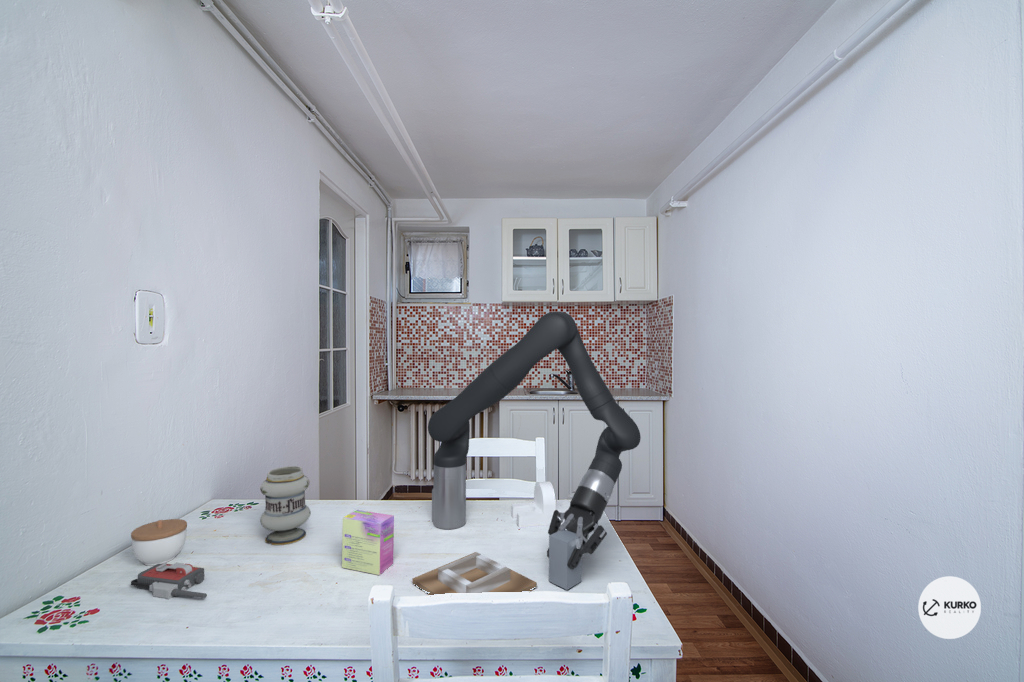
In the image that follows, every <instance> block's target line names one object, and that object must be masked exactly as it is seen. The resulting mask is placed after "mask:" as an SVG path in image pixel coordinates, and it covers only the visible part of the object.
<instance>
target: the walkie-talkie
mask: <svg viewBox="0 0 1024 682" xmlns="http://www.w3.org/2000/svg"><path fill="white" fill-rule="evenodd" d="M205 577H206V576H205V568H204V567H197V566H193V564H190V563H183V562H175V563H168V562H166V563H163V564H157V565H153V566H151V567H149V568H147V569H144V570H142V571H141V572H139V573H138V575H137V578H136V579H135V578H134V579H132V580H131V581H130V585H131V586H133V587H137V589H139V590H145V591H146V590H148V591H149V592H152V595H153V597H155V598H161V599H165V600H170V599H172V598H174V597H186V598H201V599H202V598H204V599H205V598H207V597H208V596H207V595H208V594H207V593H205V592H198V591H190V590H189V589H190V588H192V587H194V586H196V585H197V584H201V583H202V582H203V581H204V580H205Z"/></svg>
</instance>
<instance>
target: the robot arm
mask: <svg viewBox="0 0 1024 682" xmlns="http://www.w3.org/2000/svg"><path fill="white" fill-rule="evenodd" d="M555 350H557V351H558V352H559V353H560V354H561V356H562V357H563V358H564V360H565V362H566V364H567V366H568V368H569V370H570V373H571V376H572V378H573V381H574V383H575V384H574V385H575V386H576V389H577V391H578V394H579V396H580V397H581V399H582V401H583V403H584V405H585V406H586V408H587V410H588V411H589V413H590V415H591V417H592V418H593V419H594V420H597V421H600V422H604V423H605V425H606V427H605V428H604V429H603V430H602V432H601V433H600V436H599V437H598V442H597V446H596V447H595V449H596V450H595V454H594V455H595V456H594V457H593V458H592V460H591V462H590V465H589V466H588V469H587V470H586V472H585V474H584V475H583V476H582V479H581V480H580V483H579V484H578V486H577V488H576V490H575V492H574V494H573V496H572V498H571V500H570V507H569V509H568V510H567V511H566V512H565V513H561V512H559V511H558V510H555V511H554V513H553V516H552V520H551V523H550V525H549V526H548V531H547V534H548V535H551V534H554V533H556V532H558V531H560V530H561V531H565V530H568V531H570V532H573V533H576V537H578V541H577V543H576V549H575V548H574V550H573V552H572V554H571V556H570V559H569V561H568V563H567V566H568V567H569V568H570V569H572V570H574V568H576V567H577V566H578V564H579V561H580V559H581V560H582V558H583V555H585V554H589V555H593V554H594V553H595V551H596V550H597V549H598V548H599V546H600V544H601V543H602V541H603V540H604V539H605V537H606V536H607V534H608V532H607V530H606V528H604V527H603V525H599V521H600V520H601V518H602V516H603V514H604V512H605V509H606V508H607V505H608V504H609V501H610V499H611V497H612V494H613V492H614V487H615V485H616V483H617V480H619V479H618V478H619V476H620V474H621V471H622V470H623V464H622V460H621V459H620V456H621V454H622V453H623V452H625V451H630V450H634V449H636V448H637V447H638V446H639V445H640V443H641V438H642V437H641V432H640V428H639V426H638V425H637V423H636V422H635V421H634V419H633V418H632V417H631V416H630V415H629V413H627V412H626V411H625V410H624V408H622V407H621V406H620V405H619V404H618V403H617V401H616V400H615V398H614V396H613V395H612V393H611V391H610V389H609V387H608V386H607V385H606V382H605V381H604V379H603V377H602V376H601V374H600V372H599V371H598V369H597V368H596V366H595V364H594V363H593V359H592V358H591V357H590V355H589V352H588V351H587V348H586V346H585V343H584V342H583V338H582V337H581V333H580V331H579V329H578V326H577V323H576V321H575V319H574V318H573V317H572V316H571V315H570V314H569V313H567V312H564V311H550V312H547V313H544V314H543V315H542V316H541V317H539V318H538V320H537V321H536V322H535V323H534V325H533V326H532V327H531V328H530V329H529V330H528V331H527V332H526V334H524V336H523V337H522V338H521V339H520V340H518V342H517V343H516V344H515V345H513V346H511V347H510V348H508V350H506V351H505V352H504V353H502V354H501V355H500V356H498V358H496V359H495V360H494V361H492V362H491V363H490V364H489V365H488V366H487V367H486V368H485V369H484V370H483V371H482V372H481V373H480V374H479V375H478V376H476V377H475V378H473V380H472V381H471V382H470V383H469V384H468V385H467V386H466V387H464V389H463V390H462V391H461V392H460V393H459V394H458V395H457V396H455V398H453V399H451V400H450V401H448V402H447V403H446V404H444V405H443V406H442V407H440V408H439V409H437V410H436V411H435V412H434V413H433V414H431V417H430V418H429V420H428V423H427V431H428V435H429V437H431V438H432V439H433V440H434V441H437V442H439V443H440V444H439V447H438V449H437V450H436V452H435V453H434V455H433V488H432V489H431V522H433V525H434V527H435V528H438V529H440V530H441V529H442V530H454V529H459V528H461V527H463V526H465V525H466V523H467V522H466V521H467V519H466V518H467V514H466V513H467V512H466V511H467V456H468V453H469V451H470V449H469V448H470V434H471V432H470V430H471V429H470V427H471V426H470V420H471V419H472V418H474V417H475V416H476V415H478V414H480V413H482V412H483V411H485V410H487V409H489V408H490V407H492V406H493V405H495V404H497V403H499V402H500V401H501V400H503V399H505V397H507V396H508V395H509V394H511V392H512V391H514V390H515V389H516V388H517V387H518V386H519V385H520V384H521V383H522V382H523V380H524V379H525V378H526V377H527V376H528V374H529V372H531V370H532V369H533V368H534V367H535V365H536V364H538V363H539V362H540V361H542V360H543V359H544V358H545V357H547V356H548V355H549V354H551V353H552V352H554V351H555ZM564 519H565V521H564V522H563V520H564ZM561 523H562V524H561ZM591 533H592V534H591ZM590 534H591V535H590ZM589 536H590V537H589ZM546 557H547V558H548V559H549V547H548V548H547V550H546Z"/></svg>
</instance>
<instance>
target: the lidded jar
mask: <svg viewBox="0 0 1024 682" xmlns="http://www.w3.org/2000/svg"><path fill="white" fill-rule="evenodd" d="M187 527H188V522H187V521H186V520H185V519H180V518H168V519H159V520H156V521H152V522H148V523H145V524H144V525H141V526H138V527H136V528H134V529H133V531H131V532H130V539H131V547H132V549H131V550H132V552H133V555H134V556H135V558H136V560H138V561H139V562H141V563H142V564H143V565H145V566H147V567H148V566H151V567H153V566H155V565H157V564H164V563H169V562H171V561H173V560H174V559H175V558H176V556H177V555H178V554H179V553H180V552H181V550H182V549H183V547H184V546H185V542H186V538H187Z"/></svg>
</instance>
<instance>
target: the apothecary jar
mask: <svg viewBox="0 0 1024 682" xmlns="http://www.w3.org/2000/svg"><path fill="white" fill-rule="evenodd" d="M309 486H310V479H309V477H308V476H306V475H305V474H304V472H303V467H301V466H296V465H295V466H294V465H293V466H292V465H291V466H282V467H277V468H274V469H271V470H269V471H268V472H267V475H266V479H265V480H264V481H263V482H262V483H261V485H260V492H261V494H262V495H263V496H265V497H264V498H265V499H264V500H265V506H264V507H265V510H264V512H263V513H262V515H261V516H260V519H259V520H260V524H261V526H262V527H263V528H264V529H265V530H268V531H272V532H271V533H269V534H268V535H266V537H265V539H264V542H265V544H271V546H284V545H290V544H294V543H297V542H299V541H301V540H302V539H304V538H305V537H306V535H307V531H305V530H304V529H303V528H299V527H301V526H302V525H304V524H305V523H306V522H307V521H308V520H309V518H310V516H311V509H310V507H309V506H308V505H307V504H306V496H305V495H306V493H305V491H306V490H307V489H308V488H309Z"/></svg>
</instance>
